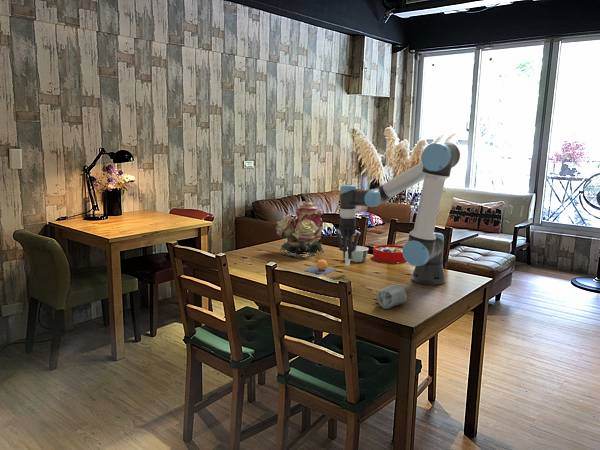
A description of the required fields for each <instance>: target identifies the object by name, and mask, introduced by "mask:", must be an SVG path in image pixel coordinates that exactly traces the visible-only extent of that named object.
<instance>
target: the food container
mask: <svg viewBox="0 0 600 450" xmlns="http://www.w3.org/2000/svg"><path fill="white" fill-rule="evenodd" d="M347 250H348V246H347ZM368 251H369V247H366V246H361V245H357V246H356V250H355V251H353V252H352V258H351V259H350V262H353V261H354V262H355V263H363V262H365V261H367V256H368V255H367V254H368V253H369V252H368ZM354 262H353V263H354Z"/></svg>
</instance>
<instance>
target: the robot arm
mask: <svg viewBox="0 0 600 450" xmlns="http://www.w3.org/2000/svg"><path fill="white" fill-rule="evenodd" d="M460 159H461V151H460V149H459V147H458V146H457V145H456V143H455V144H454V143H452V142H449V141H446V142H445V141H436V142H435V141H434V142H432V143H429V144H428V145H427V146H425V148H423V151H422V152H421V155H420V160H421V162H419V163H418V164H416V165H413V166H412V167H410V168H408V169H407V170H405V171H403V172H402V173H400V174H398V175H396V176H395V177H393V178H392V179H390V180H389V181H388V180H387V181H386V182H385V183H383V184H381V185H380V186H378V187H375V188H371V189H357V186H356V185H355V184H342V185H340V188H339V189H340V191H339V201H340V203H339V204H340V205H339V217H340V218H339V228H338V229H337V230H335V231H334V234H335V236H336V239H337V244H338V248H339V251H341V252H342V253H343V255H342V257H343V259H344V265H345V266H347V267H349V266H350V265H351V261H350V259H351V258H352V252H353V251H355V250H356V246H358V242H359V239H360V236H361V234H362V232H361V231H358V230H357V226H356V224H357V222H356V221H357V218H356V216H357V215H356V214H357V212H356V211H357V208H356V207H357V206H359V207H369V208H373V207H378V206H379V205H380V204H384V203H386V202H387V201H389V199H391V198H394V197H395V196H397V195H398V194H401V193H402V192H403V191H406V190H407V189H409V188H411V187H413V186H414V185H416V184H418V183H420V182H422V181H423V183H422V188H421V192H420V197H419V202H418V207H417V211H416V212H417V213H416V217H415V221H414V225H413V226H414V228H413V229H412V230H411V231H409V233H408V238H407V242H406V243H404V245H403V246H404V247H403V250H402V253H403V257H404V259H405V260H406V261H407V262H406V263H407V264H408V265H411V266H412V267H414V269H413V271H412V275H411V276H412V277H411V280H412V281H413V282H416V283H418V284H423V285H429V286H430V285H434V286H435V285H441V284H445V283H446V275H445V274H446V273H445V270H444V267H443V261H444V260H443V258H444V245H445V235H444V234H443V233H441V232H436V231H435V228H436V224H437V218H438V215H439V210H440V205H441V200H442V195H443V191H444V185H445V182H446V180H447V179H448V178H450V177H451V176H450V175H451V171H452V168H454V167H455V166H457V164H458V163H459V162H460ZM354 235H355V236H354ZM353 236H354V239H353ZM347 247H348V250H347Z"/></svg>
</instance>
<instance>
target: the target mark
mask: <svg viewBox="0 0 600 450" xmlns="http://www.w3.org/2000/svg"><path fill="white" fill-rule="evenodd" d="M335 270H336V268H334V267H328V266H327V268H326V269H325V270H323V271H321V270H319V269H318V268H317V265H313V266H312V267H309V268H307V269H305V270H304V272H305V271H306V272H307V273H314V274H319V275H320V274H321V275H328V274H329V273H332V272H334V271H335Z"/></svg>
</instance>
